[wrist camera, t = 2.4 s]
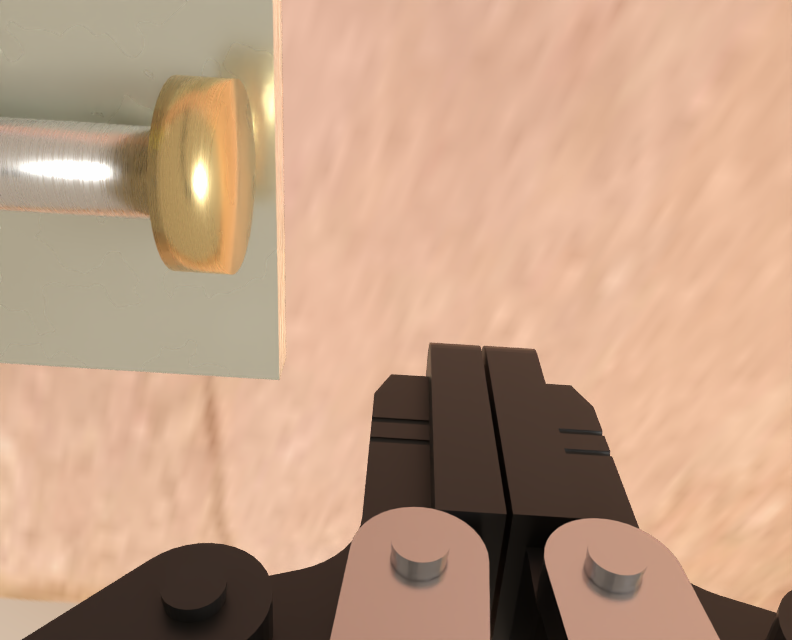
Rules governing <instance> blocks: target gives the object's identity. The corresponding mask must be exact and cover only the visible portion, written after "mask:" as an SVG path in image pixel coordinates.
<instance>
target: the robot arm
mask: <svg viewBox="0 0 792 640" xmlns="http://www.w3.org/2000/svg"><path fill="white" fill-rule="evenodd" d="M22 640H792V590H791V591H790V592H788V593H787V594H786V595H785V596H784V597H783V599H782V601H781V603H780V606H779V608H778V610H777V613H775V612H772V611H769V610H765V609H762V608H759V607H756V606H752V605H749V604H746V603H743V602H739V601H736V600H733V599H729V598H726V597H723V596H720V595H717V594H714V593H711V592H709V591H706V590H704V589H702V588H700V587H697V586H695V585H693V584H691V583H690V581H689V579H688V577H687V576H686V574H685V572H684V570H683V568H682V566H681V565H680V563H679V561H678V560H677V558H676V557H675V556H674V555H673V553H672V552H671V551H670V550H669V549H668V548H667V547H666V546H665V545H663V544H662V543H661V542H660V541H658V540H657V539H656V538H654V537H653V536H651V535H650V534H648V533H646V532H644V531H642V530H640V529H639V527H638V524H637V521H636V519H635V516H634V513H633V511H632V508H631V505H630V503H629V500H628V497H627V495H626V492H625V489H624V487H623V484H622V482H621V479H620V476H619V474H618V471H617V468H616V466H615V463H614V460H613V458H612V456H610V450H609V447H608V444H607V442H606V439H605V437H604V436H602V429H601V426H600V423H599V421H598V418H597V415H596V413H595V410H594V407H593V406H592V405H591V404H590V403H589V402H588V401H587V400H585V399H584V398H583V397H582V396H581V395H580V394H579V393H578V392H577V391H576V390H575V389H574V388H573V387H572V386H571V385H555V384H546V383H545V380H544V376H543V373H542V370H541V366H540V363H539V359H538V356H537V353H536V350H535V349H526V348H510V347H494V346H483V348H482V351H481V347H480V346H475V345H460V344H444V343H430V344H429V350H428V359H427V370H426V377H425V376H409V375H393V374H391V375H390V376H389V378H388V379H387V380H386V381H385V382H384V383H383V384H382V385H381V387H380V388H379V389H378V390H377V391H376V392H375V393H374V404H373V414H372V424H371V434H370V444H369V455H368V465H367V475H366V485H365V495H364V505H363V516H362V521H361V526H360V528H359V530H358V531H357V533H356V534H355V536H354V537H353V540H352V542H351V543H350V544H349V545H348V546H347V547H346V548H345V549H344V550H342V551H341V552H340V553H338V554H337V555H335V556H334V557H332V558H330V559H328V560H327V561H325V562H322V563H320V564H317V565H315V566H312V567H308V568H304V569H300V570H296V571H291V572H286V573H281V574H276V575H271V576H268V573H267V571H266V570H265V568H264V567H263V566H262V564H261V563H260V562H259V561H258V560H257V559H256V558H254V557H253V556H252V555H250V554H248V553H247V552H245V551H243V550H240V549H238V548H236V547H232V546H228V545H224V544H215V543H198V544H192V545H185V546H182V547H178V548H174V549H171V550H169V551H166V552H164V553H161V554H159V555H158V556H156V557H154V558H152V559H150V560H149V561H147V562H145V563H144V564H142V565H141V566H139V567H137V568H136V569H134V570H133V571H131V572H129V573H128V574H126V575H125V576H123V577H121V578H120V579H118V580H117V581H115V582H113V583H112V584H110V585H109V586H107V587H105V588H104V589H102V590H101V591H99V592H97V593H96V594H94V595H93V596H91V597H89V598H88V599H86V600H84V601H83V602H81V603H80V604H78V605H76V606H75V607H73V608H72V609H70V610H69V611H67V612H66V613H64V614H62V615H60V616H59V617H57V618H56V619H54V620H52V621H51V622H49V623H48V624H46V625H44V626H43V627H41V628H40V629H38V630H37V631H35V632H33V633H32V634H30V635H28V636H27V637H25V638H24V639H22Z"/></svg>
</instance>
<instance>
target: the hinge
mask: <svg viewBox="0 0 792 640" xmlns="http://www.w3.org/2000/svg"><path fill="white" fill-rule="evenodd" d="M173 75H188V76H204V77H220V78H235V79H239V80H240V81H241V82H242V83H243V85H244V87H245V89H246V92H247V95H248V99H249V103H250V107H251V113H252V120H253V128H254V140H255V196H254V208H253V218H252V225H251V232H250V237H249V242H248V247H247V251H246V254H245V257H244V260H243V263H242V265H241V267H240V269H239V270H238V272H236V273H235V274H233V275H228V274H212V273H196V272H180V271H172V270H170V269H169V268H168V267H167V266H166V265H165V264H164V262H163V261H162V259H161V257H160V255H159V252H158V250H157V247H156V244H155V240H154V236H153V232H152V226H151V221H150V220H143V219H127V218H111V217H94V216H78V215H62V214H46V213H30V212H14V211H0V363H10V364H26V365H42V366H59V367H75V368H91V369H108V370H124V371H140V372H156V373H173V374H189V375H205V376H222V377H238V378H254V379H271V380H280V377H281V373H282V370H283V367H284V364H285V360H286V305H285V228H284V150H283V73H282V0H0V117H11V118H27V119H43V120H59V121H75V122H91V123H107V124H123V125H139V126H151V122H152V117H153V112H154V108H155V105H156V101H157V98H158V96H159V93H160V91H161V89H162V87H163V85H164V83H165V82H166V81H167V79H168V78H170V77H171V76H173Z"/></svg>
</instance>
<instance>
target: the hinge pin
mask: <svg viewBox="0 0 792 640" xmlns="http://www.w3.org/2000/svg"><path fill="white" fill-rule="evenodd" d="M254 196H255V140H254V128H253V120H252V113H251V107H250V103H249V99H248V95H247V92H246V89H245V87H244V85H243V83H242V82H241V81H240V80H239V79H235V78H220V77H204V76H188V75H173V76H171V77H170V78H168V79H167V81H166V82H165V83H164V85H163V87H162V89H161V91H160V93H159V96H158V98H157V101H156V105H155V108H154V112H153V117H152V122H151V126H139V125H123V124H107V123H91V122H75V121H59V120H43V119H27V118H11V117H0V211H14V212H30V213H46V214H62V215H78V216H94V217H111V218H127V219H143V220H150V221H151V226H152V232H153V236H154V240H155V244H156V247H157V250H158V252H159V255H160V257H161V259H162V261H163V262H164V264H165V265H166V266H167V267H168V268H169V269H170V270H172V271H180V272H196V273H212V274H228V275H233V274H235V273H236V272H238V270H239V269H240V267H241V265H242V263H243V260H244V257H245V254H246V251H247V247H248V242H249V237H250V232H251V225H252V218H253V208H254Z"/></svg>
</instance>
